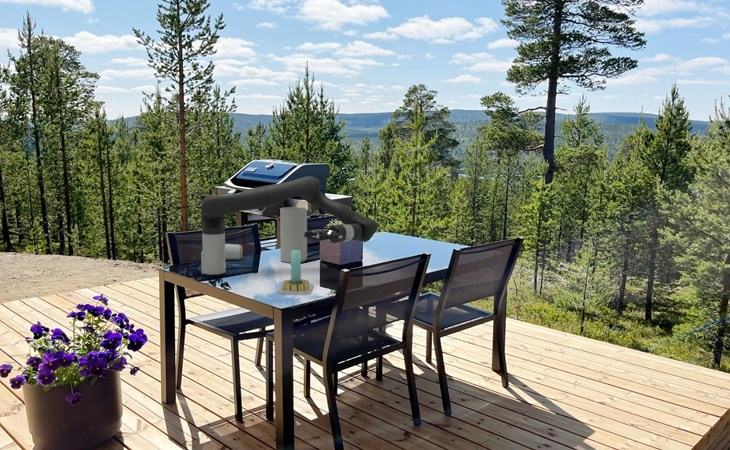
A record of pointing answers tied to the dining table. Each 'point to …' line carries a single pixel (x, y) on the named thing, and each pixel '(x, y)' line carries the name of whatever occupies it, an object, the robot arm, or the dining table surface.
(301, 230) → the cylinder vase
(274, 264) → the dining table surface
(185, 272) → the dining table surface
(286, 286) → the golden segmented cake
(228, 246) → the ceramic mug
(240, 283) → the dining table surface
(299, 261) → the pin
